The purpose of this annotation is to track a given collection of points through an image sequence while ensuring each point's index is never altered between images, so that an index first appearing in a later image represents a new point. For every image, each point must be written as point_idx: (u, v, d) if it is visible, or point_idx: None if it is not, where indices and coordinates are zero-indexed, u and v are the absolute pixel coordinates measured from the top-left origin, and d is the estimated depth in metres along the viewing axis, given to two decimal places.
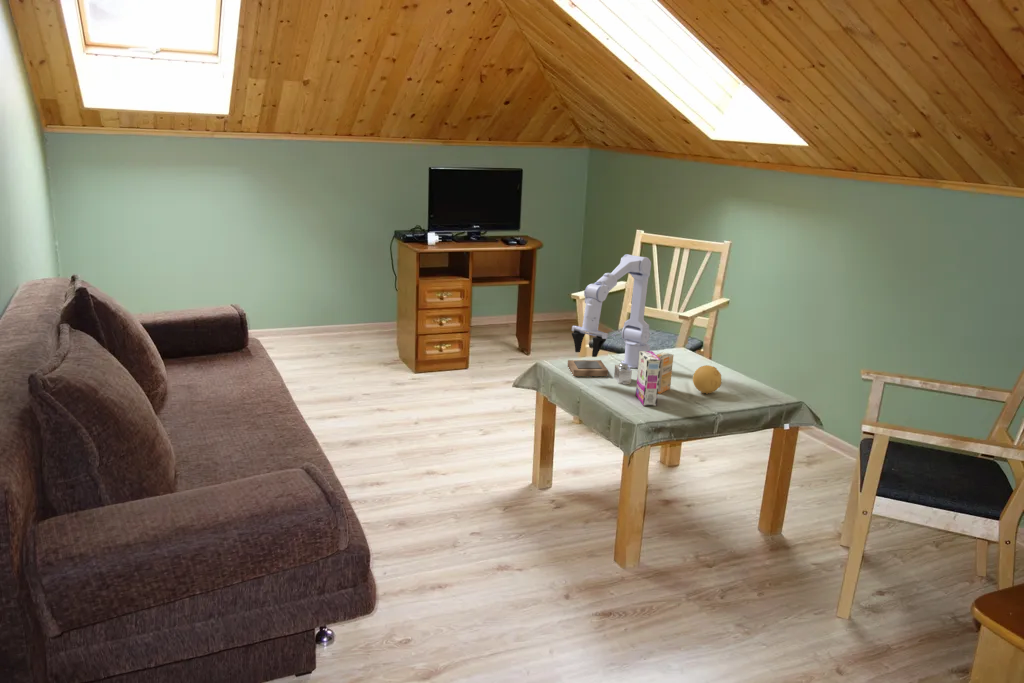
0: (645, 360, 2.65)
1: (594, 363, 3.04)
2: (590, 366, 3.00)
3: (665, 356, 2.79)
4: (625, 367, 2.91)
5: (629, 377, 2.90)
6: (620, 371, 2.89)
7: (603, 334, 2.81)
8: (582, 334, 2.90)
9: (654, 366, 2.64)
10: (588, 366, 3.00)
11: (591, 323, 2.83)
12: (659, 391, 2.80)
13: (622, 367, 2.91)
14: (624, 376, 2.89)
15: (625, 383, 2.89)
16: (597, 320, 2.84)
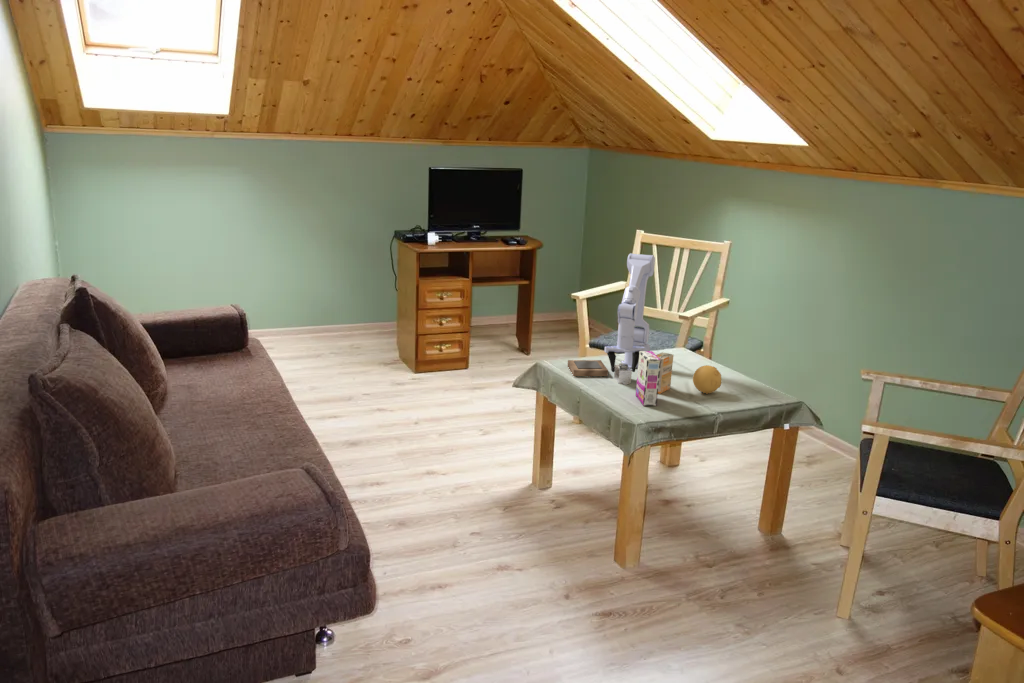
0: (645, 360, 2.65)
1: (594, 363, 3.04)
2: (590, 366, 3.00)
3: (665, 356, 2.79)
4: (625, 367, 2.91)
5: (629, 377, 2.90)
6: (620, 371, 2.89)
7: (643, 349, 2.90)
8: None
9: (654, 366, 2.64)
10: (588, 366, 3.00)
11: (631, 341, 2.87)
12: (659, 391, 2.80)
13: (622, 367, 2.91)
14: (624, 376, 2.89)
15: (625, 383, 2.89)
16: None
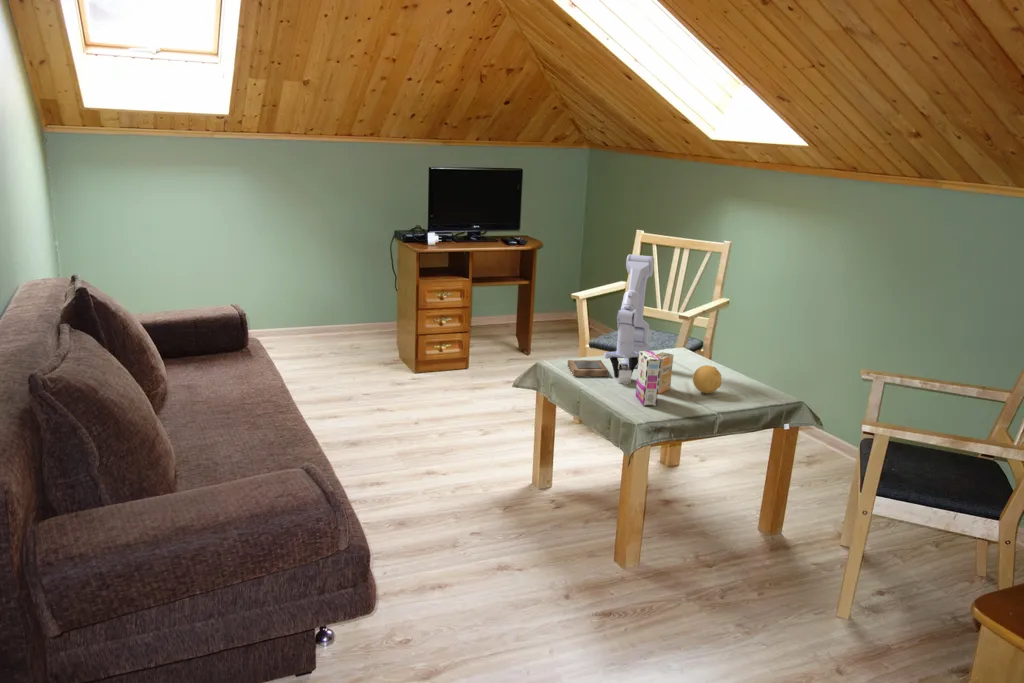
0: (645, 360, 2.65)
1: (594, 363, 3.04)
2: (590, 366, 3.00)
3: (665, 356, 2.79)
4: (625, 367, 2.91)
5: (629, 377, 2.90)
6: (620, 371, 2.89)
7: None
8: None
9: (654, 366, 2.64)
10: (588, 366, 3.00)
11: (630, 347, 2.88)
12: (659, 391, 2.80)
13: (622, 367, 2.91)
14: (624, 376, 2.89)
15: (625, 383, 2.89)
16: None
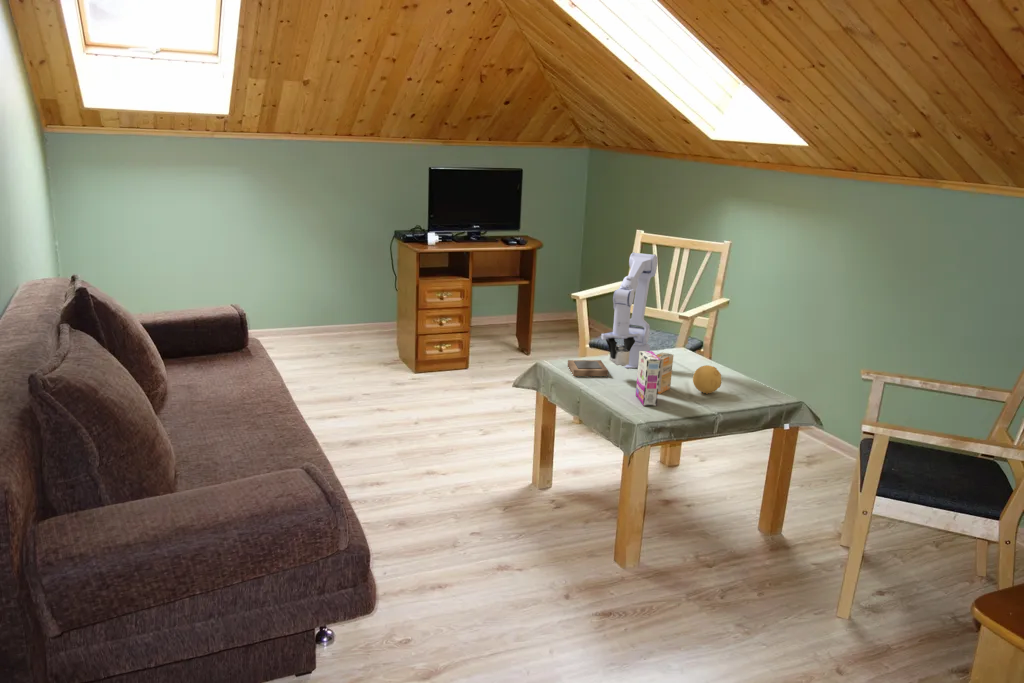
0: (645, 360, 2.65)
1: (594, 363, 3.04)
2: (590, 366, 3.00)
3: (665, 356, 2.79)
4: (623, 349, 2.90)
5: (627, 358, 2.89)
6: (619, 353, 2.88)
7: (638, 334, 2.91)
8: None
9: (654, 366, 2.64)
10: (588, 366, 3.00)
11: (628, 327, 2.88)
12: (659, 391, 2.80)
13: (619, 349, 2.90)
14: (622, 357, 2.89)
15: (624, 364, 2.88)
16: None
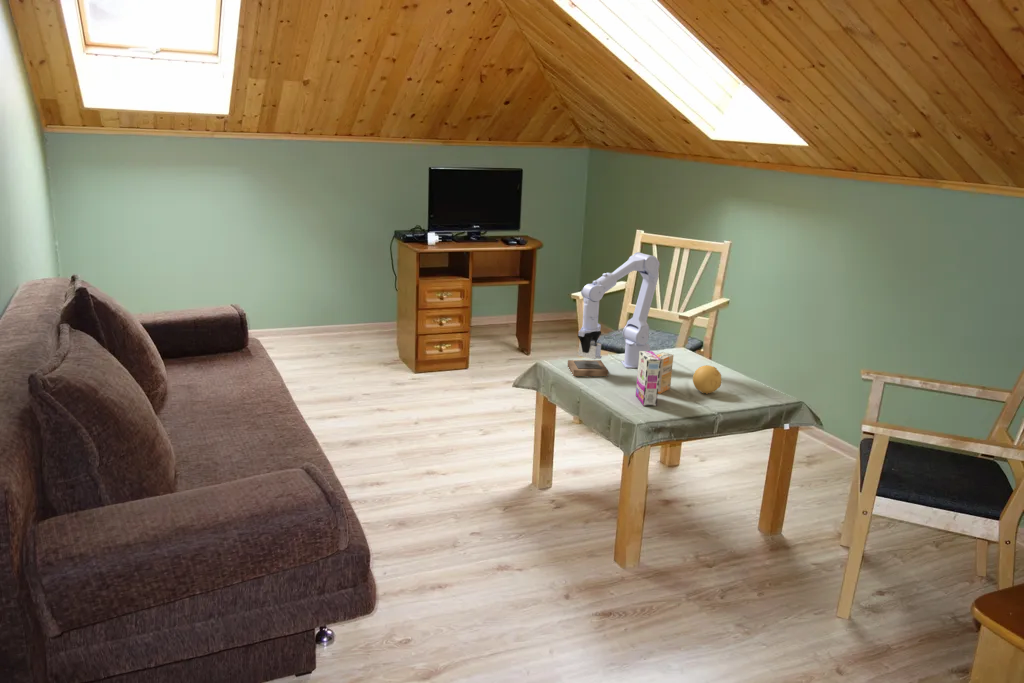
0: (645, 360, 2.65)
1: (594, 363, 3.04)
2: (590, 366, 3.00)
3: (665, 356, 2.79)
4: (594, 342, 2.99)
5: (600, 351, 3.00)
6: (596, 347, 2.96)
7: (600, 325, 3.03)
8: None
9: (654, 366, 2.64)
10: (588, 366, 3.00)
11: None
12: (659, 391, 2.80)
13: (592, 343, 2.98)
14: (597, 351, 2.98)
15: (600, 357, 2.98)
16: None
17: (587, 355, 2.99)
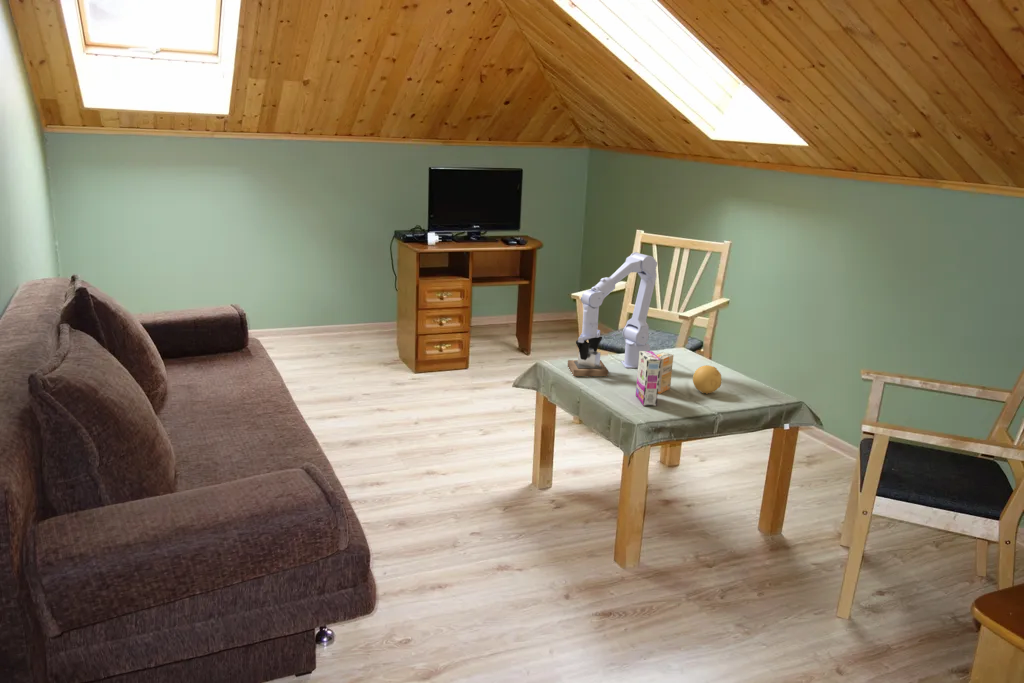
0: (645, 360, 2.65)
1: None
2: None
3: (665, 356, 2.79)
4: (593, 351, 3.00)
5: (599, 359, 3.01)
6: (595, 355, 2.97)
7: (599, 331, 3.04)
8: None
9: (654, 366, 2.64)
10: None
11: None
12: (659, 391, 2.80)
13: (592, 351, 2.99)
14: (597, 359, 2.99)
15: (599, 365, 2.99)
16: None
17: (586, 364, 3.00)
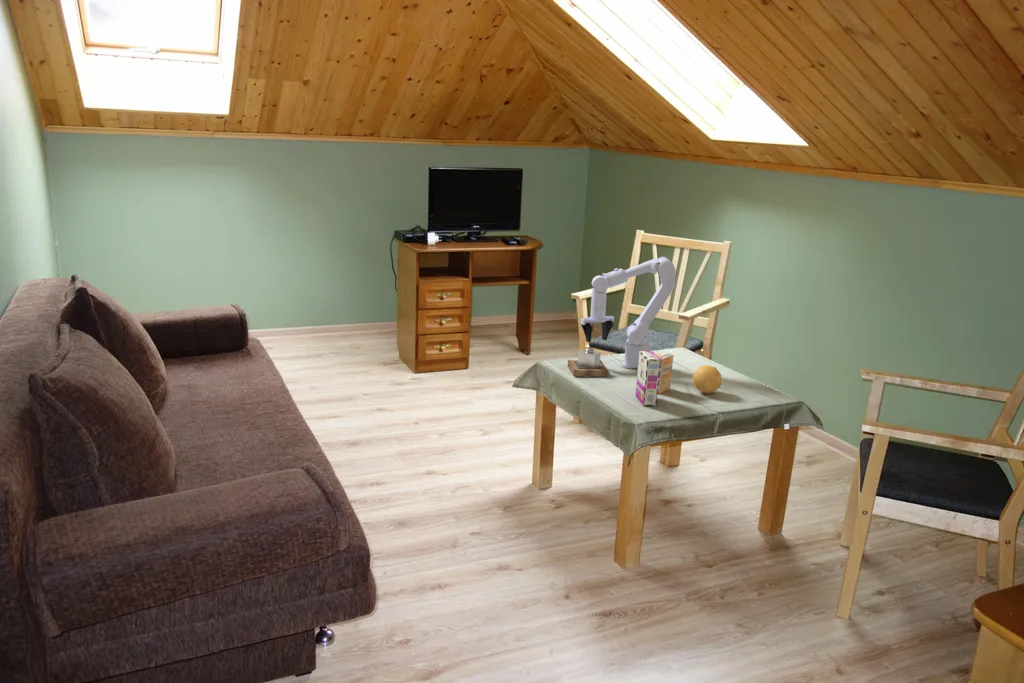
0: (645, 360, 2.65)
1: None
2: None
3: (665, 356, 2.79)
4: (593, 351, 3.00)
5: (599, 359, 3.01)
6: (595, 355, 2.97)
7: (613, 318, 3.10)
8: None
9: (654, 366, 2.64)
10: None
11: (605, 312, 3.06)
12: (659, 391, 2.80)
13: (592, 351, 2.99)
14: (597, 359, 2.99)
15: (599, 365, 2.99)
16: None
17: (586, 364, 3.00)
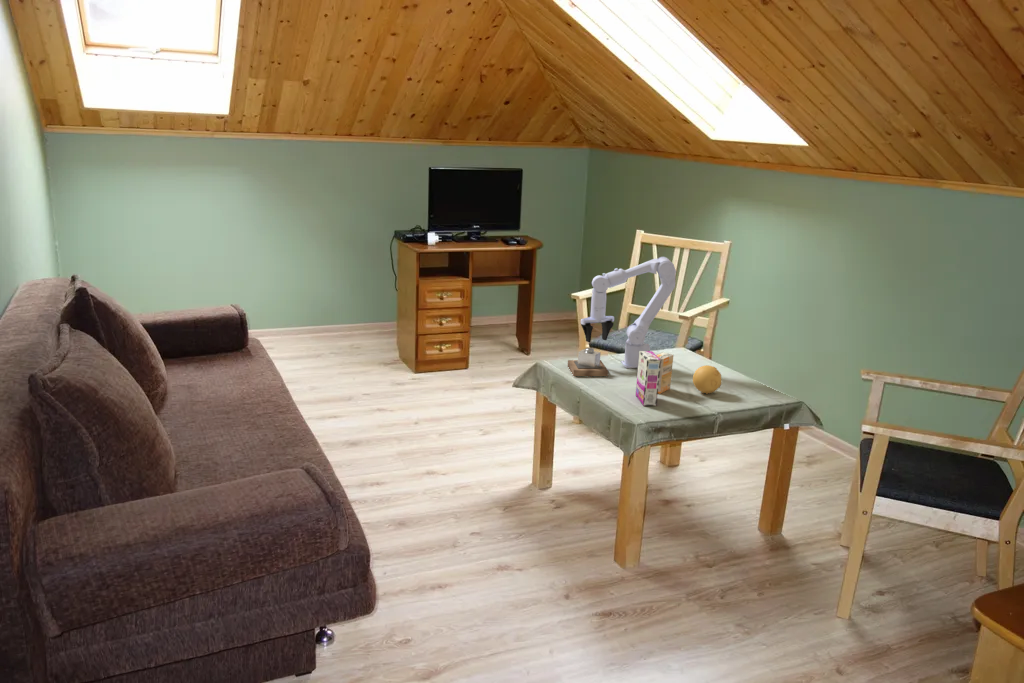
0: (645, 360, 2.65)
1: None
2: None
3: (665, 356, 2.79)
4: (593, 351, 3.00)
5: (599, 359, 3.01)
6: (595, 355, 2.97)
7: (613, 318, 3.10)
8: None
9: (654, 366, 2.64)
10: None
11: (605, 312, 3.06)
12: (659, 391, 2.80)
13: (592, 351, 2.99)
14: (597, 359, 2.99)
15: (599, 365, 2.99)
16: None
17: (586, 364, 3.00)
